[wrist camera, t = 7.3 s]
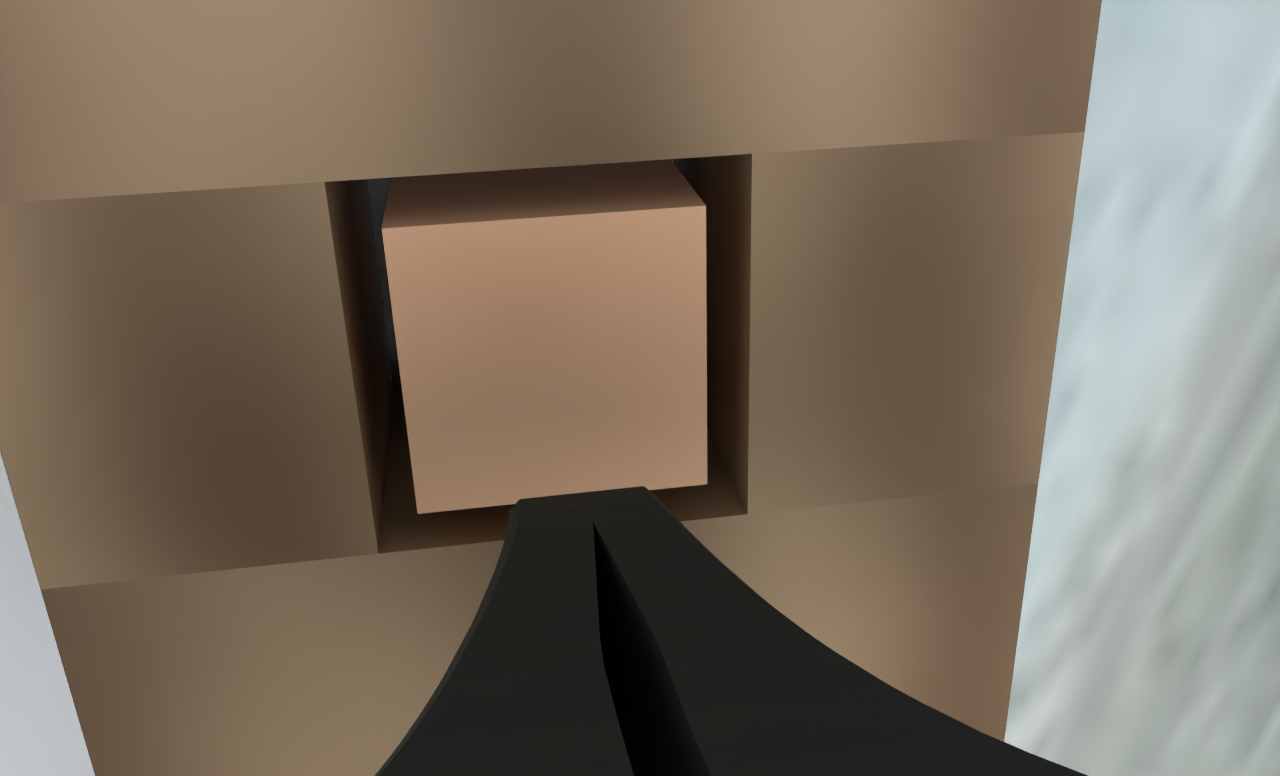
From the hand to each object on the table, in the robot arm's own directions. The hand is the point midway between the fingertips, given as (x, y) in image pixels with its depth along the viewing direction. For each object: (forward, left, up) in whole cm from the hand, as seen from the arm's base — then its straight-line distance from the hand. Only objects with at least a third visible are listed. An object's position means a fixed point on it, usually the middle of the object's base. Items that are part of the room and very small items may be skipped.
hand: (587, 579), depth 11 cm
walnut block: (0, -6, -10) cm, 11 cm away
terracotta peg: (0, 0, -10) cm, 10 cm away
